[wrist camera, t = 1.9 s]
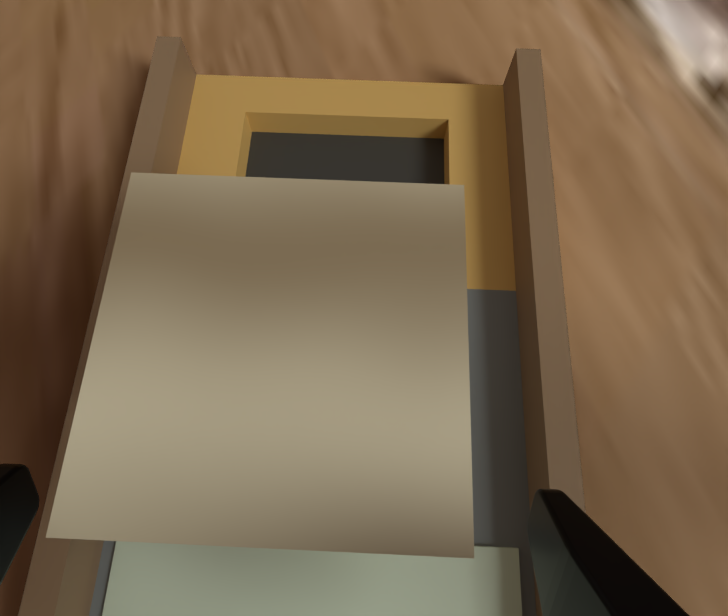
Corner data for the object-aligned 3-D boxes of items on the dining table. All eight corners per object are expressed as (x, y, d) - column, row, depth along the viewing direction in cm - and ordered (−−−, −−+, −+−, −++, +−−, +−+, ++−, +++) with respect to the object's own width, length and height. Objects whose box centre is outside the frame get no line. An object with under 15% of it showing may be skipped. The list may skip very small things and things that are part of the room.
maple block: (409, 509, 16) (473, 558, 7) (231, 500, 16) (45, 537, 7) (411, 336, 18) (464, 184, 9) (252, 329, 18) (131, 172, 9)
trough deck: (567, 836, 15) (627, 942, 11) (41, 807, 15) (-51, 902, 11) (515, 109, 23) (540, 49, 20) (186, 98, 24) (157, 36, 20)
